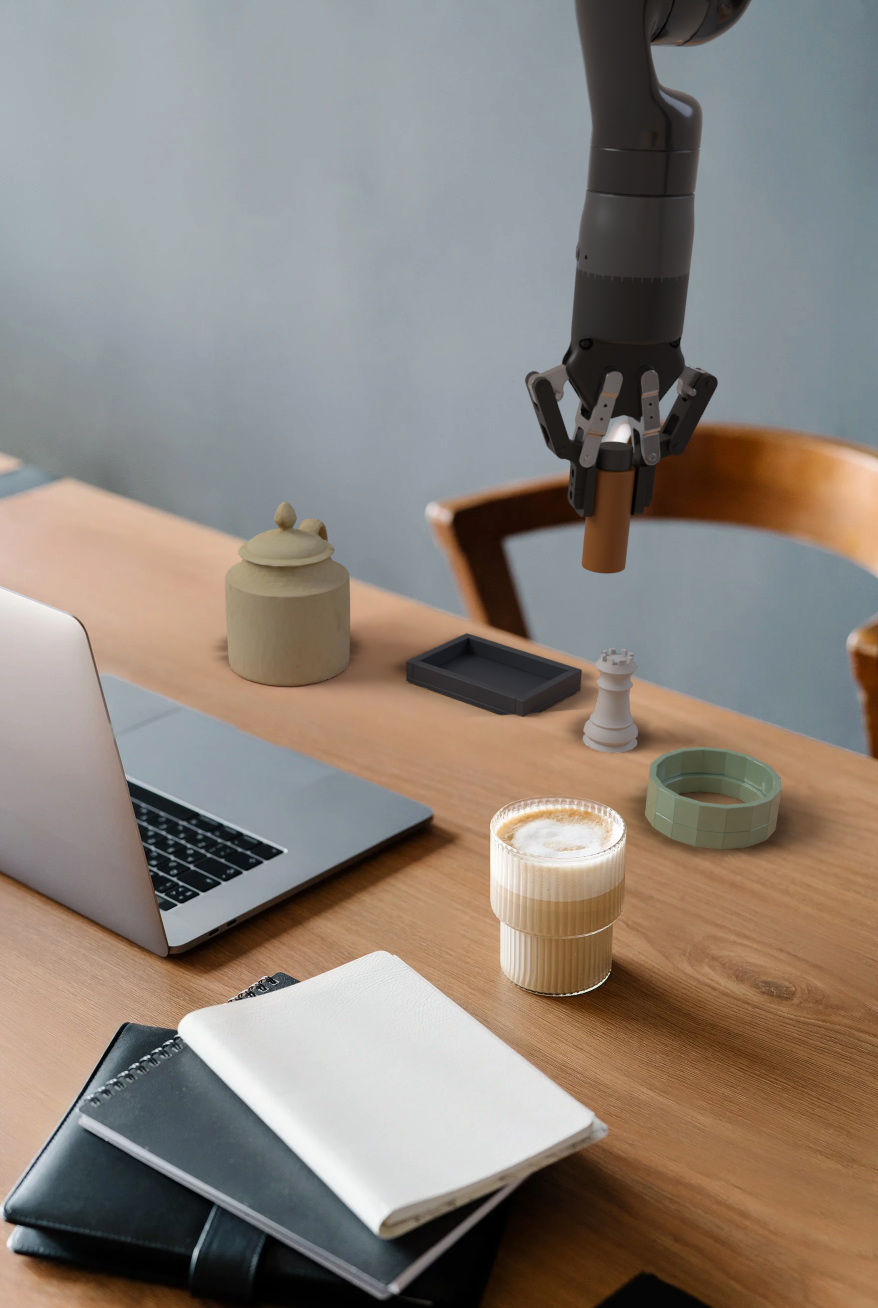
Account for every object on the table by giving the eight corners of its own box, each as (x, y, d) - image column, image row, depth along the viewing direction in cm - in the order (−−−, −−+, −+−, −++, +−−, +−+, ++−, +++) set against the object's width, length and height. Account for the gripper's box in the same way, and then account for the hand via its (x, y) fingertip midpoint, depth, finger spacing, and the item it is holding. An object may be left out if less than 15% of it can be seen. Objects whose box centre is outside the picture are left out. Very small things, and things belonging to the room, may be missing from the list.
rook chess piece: (569, 745, 111) (576, 653, 108) (605, 729, 114) (612, 638, 110) (613, 764, 108) (622, 670, 105) (649, 747, 111) (658, 654, 107)
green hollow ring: (742, 796, 104) (749, 742, 102) (794, 858, 96) (803, 801, 94) (626, 806, 103) (631, 751, 100) (670, 870, 95) (676, 812, 93)
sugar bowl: (215, 629, 133) (207, 475, 126) (328, 620, 135) (326, 468, 129) (237, 692, 120) (230, 524, 113) (362, 681, 122) (362, 515, 116)
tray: (580, 690, 121) (582, 669, 120) (522, 722, 115) (523, 701, 114) (465, 652, 128) (466, 632, 127) (405, 681, 122) (406, 660, 121)
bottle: (616, 557, 104) (629, 439, 100) (631, 572, 102) (644, 451, 97) (575, 559, 104) (586, 440, 100) (589, 574, 101) (600, 452, 97)
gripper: (547, 273, 88) (529, 534, 96) (755, 271, 91) (720, 525, 99) (515, 256, 95) (500, 501, 103) (710, 254, 97) (681, 494, 105)
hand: (608, 511), depth 101 cm, fingers closed on bottle, 3 cm apart
